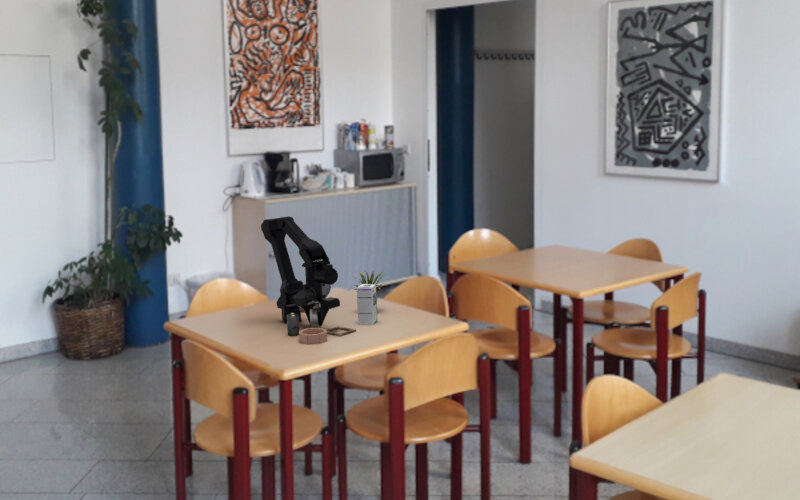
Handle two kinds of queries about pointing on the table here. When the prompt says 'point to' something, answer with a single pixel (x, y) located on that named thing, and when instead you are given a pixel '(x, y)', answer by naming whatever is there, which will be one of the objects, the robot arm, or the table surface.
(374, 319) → the syrup box
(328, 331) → the brown wooden tray
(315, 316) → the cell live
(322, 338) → the pot
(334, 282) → the robot arm
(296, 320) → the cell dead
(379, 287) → the house plant
